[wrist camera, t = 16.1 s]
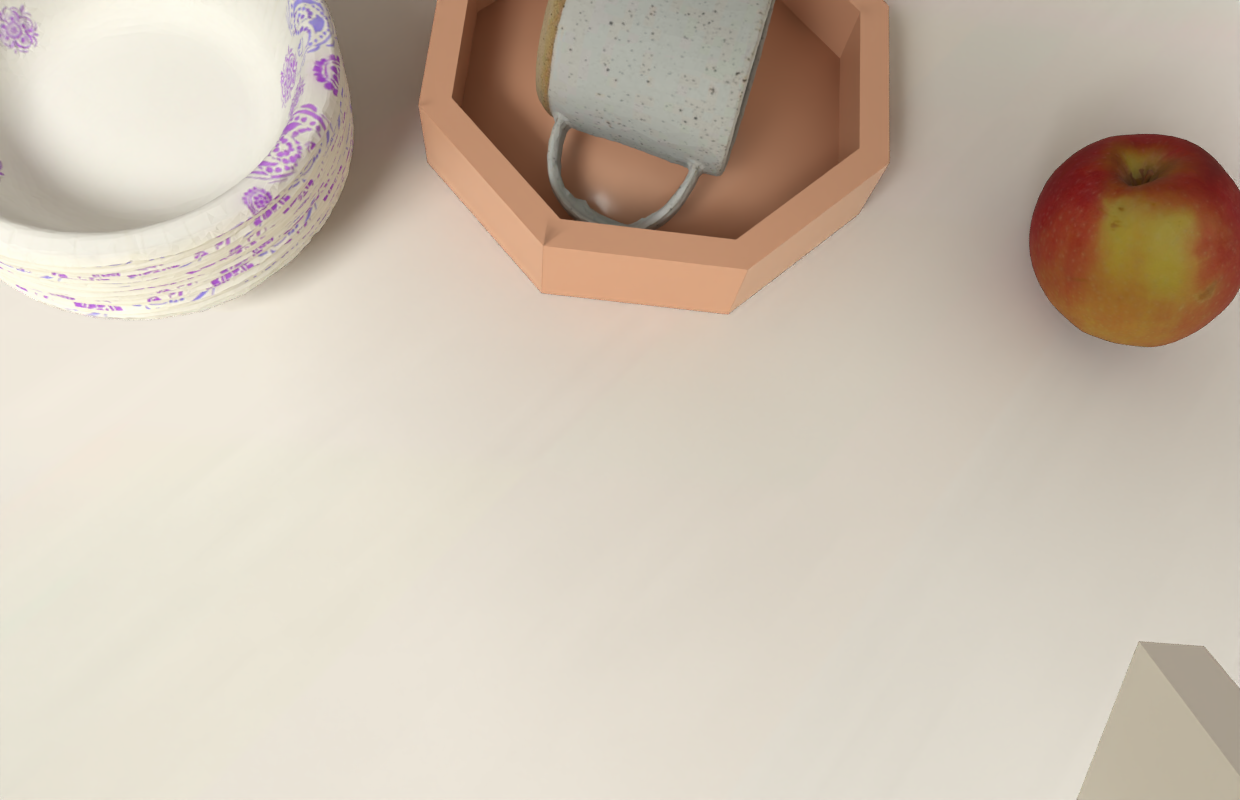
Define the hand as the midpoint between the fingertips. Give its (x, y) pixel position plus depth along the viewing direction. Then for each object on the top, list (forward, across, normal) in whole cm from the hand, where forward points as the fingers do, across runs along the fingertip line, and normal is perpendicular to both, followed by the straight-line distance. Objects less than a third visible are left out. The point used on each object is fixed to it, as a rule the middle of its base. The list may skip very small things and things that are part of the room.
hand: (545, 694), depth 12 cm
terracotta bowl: (+37, +3, 0) cm, 37 cm away
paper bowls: (+34, -16, -4) cm, 37 cm away
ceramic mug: (+35, +3, 0) cm, 35 cm away
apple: (+33, +22, -4) cm, 40 cm away
